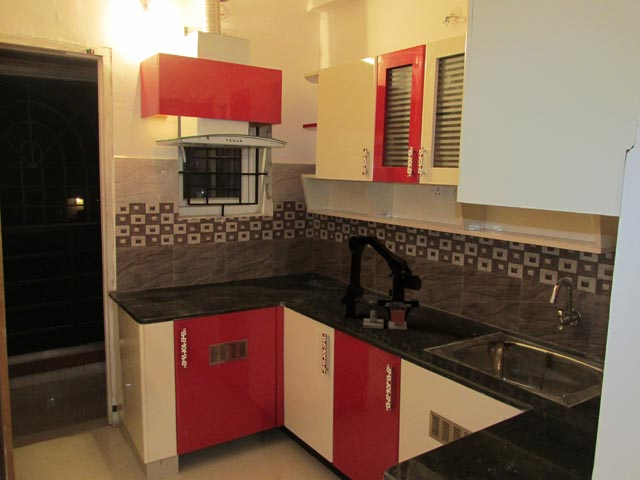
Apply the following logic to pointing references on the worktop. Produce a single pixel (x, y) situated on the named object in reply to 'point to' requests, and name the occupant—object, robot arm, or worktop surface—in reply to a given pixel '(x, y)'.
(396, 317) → the red cuboid block
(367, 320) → the post stand
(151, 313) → the worktop surface
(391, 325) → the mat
